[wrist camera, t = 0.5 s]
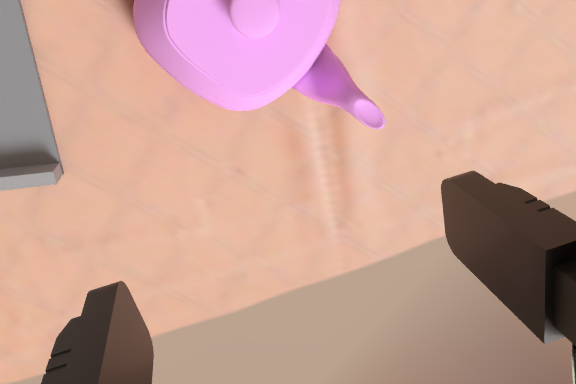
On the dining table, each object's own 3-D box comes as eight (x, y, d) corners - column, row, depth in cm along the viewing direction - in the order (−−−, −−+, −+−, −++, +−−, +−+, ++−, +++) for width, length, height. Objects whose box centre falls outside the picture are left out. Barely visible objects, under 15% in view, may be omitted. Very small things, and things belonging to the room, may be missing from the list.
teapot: (286, 154, 41) (320, 207, 31) (67, -6, 33) (18, -5, 23) (388, 27, 38) (462, 38, 28) (180, -179, 30) (180, -264, 20)
